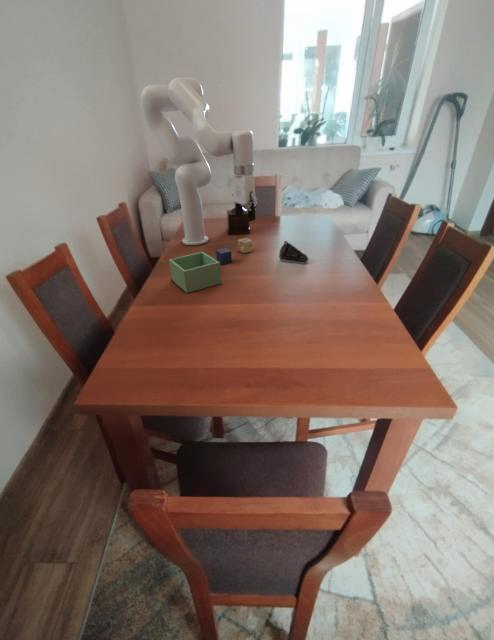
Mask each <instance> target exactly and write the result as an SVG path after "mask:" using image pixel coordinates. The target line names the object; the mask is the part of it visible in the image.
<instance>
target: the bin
mask: <svg viewBox="0 0 494 640" xmlns="http://www.w3.org/2000/svg"><path fill="white" fill-rule="evenodd" d="M168 263H169V270H170V275H171V280H172V281H173V283H175V284H176V285H177V286H178V287H179V288H180V289H182V291H184V292H185V293H186V294H188V293H192V292H196V291H200V290H203V289H207V288H209V287H210V288H211V287H213V286H216V285H221V284H222V277H221V276H222V275H221V264H220V262H218V261H217V259H215V258H214V257H212V256H210V255H209V254H207V253H206V252H204V251H199V252H195V253H190V254H188V255H187V254H186V255H181V256H177V257H174V258H170V259H168Z"/></svg>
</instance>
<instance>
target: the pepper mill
mask: <svg viewBox="0 0 494 640" xmlns="http://www.w3.org/2000/svg"><path fill="white" fill-rule="evenodd" d="M245 206H246V205H243V207H242V211H243V215H242V216H239V217H236V215H235V207H233V208H231V209H227V210H226V220H227V232H228V235H230V236H231V235H233V236H234V235H246V234H247V235H248V234H250V230H251V228H250V221H248V208H245Z"/></svg>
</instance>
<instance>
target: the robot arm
mask: <svg viewBox="0 0 494 640" xmlns="http://www.w3.org/2000/svg"><path fill="white" fill-rule="evenodd" d="M139 98H140V101H139V102H140V109H141V113H142V116H143V118H144V120H145V122H146V123H147V125H148V127H149V129H150V130H151V131H152V133H153V135H154V136H155V138H156V140H157V143H158V145H159V146H160V148H161V150H162V152H163V153H164V155H165V158H166V159H167V161H168V162H169V163H170V164H171V165H173V166H178V168H177V169H176V170H175V173H174V181H175V185H176V189H177V191H178V196H179V202H180V209H181V215H182V216H181V217H182V224H183V234H184V237H183V238H182V239H181V242H182V244H183V245H187V246H200V245H205V244H207V243H208V242H209V237H208V236H207V235H206V233H205V223H204V222H205V220H204V212H203V211H204V210H203V209H204V208H203V202H202V201H203V200H202V197H201V194H200V192H199V190H198V189H199V188H202V187H205V186H207V185H209V184H210V182H211V180H212V171H211V168H210V165H209V163H208V162H207V159H206V157H205V155H204V153H203V151H202V149H201V147H202V148H203V149H204V150H205V151H206V152H207V153H208V154H210V155H211V156H213V157H224V156H228V155H232V159H233V179H232V201H233V206H234V208H235V215H236V217H239V216H242V215H243V211H242V208H243V206H246V207H247V211H248V221H249V222H255V221H256V210H257V206H258V201H259V198H258V197H257V196H256V185H255V184H256V183H255V176H254V175H255V173H254V133H253V131H251V130H249V129H245V130H244V129H243V130H233V129H232V130H231V129H228V130H219V131H216V130H215V129H214V128H213V127H212V125H211V124H210V123H209V122H208V121H207V120H208V117H209V115H210V106H209V104H208V103H207V102H206V101H205V100H204V90H203V87H202V85H201V83H200V82H199V81H198V79H196V78H194V77H179V76H178V77H174V78H172V80H170V82H169V83H168V84H163V83H162V84H161V83H154V84H149V85H146V86H145V87H144V88H143V89H142V91H141V94H140V97H139ZM178 111H179V112H181V114H182V115H183V116H184V117H185V118H186V119H187V120H188V122H189V123H191V125H192V129H193V133H194V136H195V138H196V140H197V141H196V140H195V138H193V137H191V136H180V135H179V134H178V132H177V131H176V128H175V126H174V125H173V123H172V121H171V120H170V119H169V118H168V117H167V116H166V115H165V114H164V113H167V112H168V113H169V112H178ZM199 144H200V146H201V147H200V146H199Z"/></svg>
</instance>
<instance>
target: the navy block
mask: <svg viewBox="0 0 494 640" xmlns="http://www.w3.org/2000/svg"><path fill="white" fill-rule="evenodd" d="M215 257H216V259H215V260H217V261H218V262H220V266H221V265H222V266H223V265H227V264H231V263H232V262H233V258H232V250H230V249H229V248H226V247H225V248H221V249H217V250H215Z"/></svg>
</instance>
